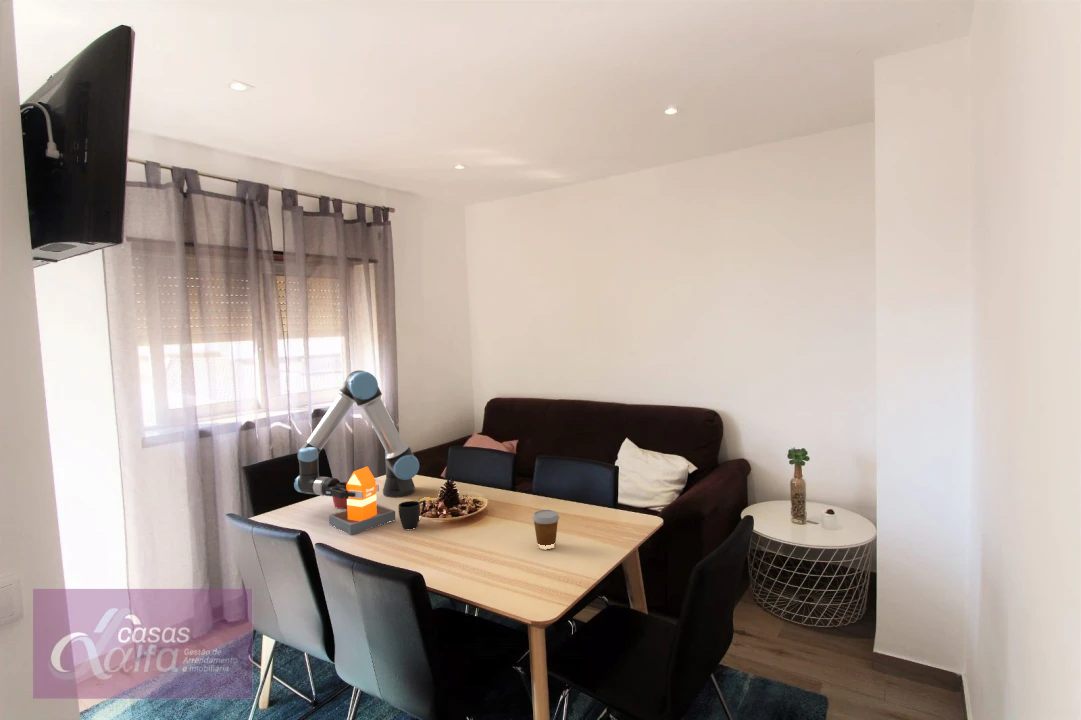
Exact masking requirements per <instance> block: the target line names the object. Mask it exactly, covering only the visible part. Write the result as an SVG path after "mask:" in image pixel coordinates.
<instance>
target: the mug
mask: <svg viewBox="0 0 1081 720" xmlns="http://www.w3.org/2000/svg"><path fill="white" fill-rule="evenodd" d="M421 504H422V507H421ZM426 505H427V504H426V501H425V500H421V501H416V500H407V501H403V502H401V503H399V504H398V516H399V521H400V524H401V527H402V529H403V528H404V529H413V528H415V529H417V528H418V524H419V523H420V521H421V519H420V520H419V516H420V512H421V511H424V512H425V508H426ZM416 527H417V528H416ZM404 529H403V530H404ZM413 530H414V529H413Z"/></svg>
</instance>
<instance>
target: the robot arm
mask: <svg viewBox="0 0 1081 720" xmlns="http://www.w3.org/2000/svg"><path fill="white" fill-rule="evenodd" d="M382 395H383V393H382V391H381V389H380V387H379V382H378V380H377V379H376V377H375V376H374V375H373V373H371V372H368V371H365V370H359V369H357V370H354V371H352V372H350V374H348V375H347V377H346V378H345V380H344V382H343V384H342V385H341V387H340V388H339V390H338V395H337V397H336V398H335V400H334V401H333V402H332V403H331V406H330V407H329V408H328V410H327V411H326V413H325V414H324V415H323V417H322V418H321V419H320V421H319V423H318V424H317V426H316V427H315V428H314V429H313V431H312V433H310V436H309V437H308V439H307V440H306V442H305V443H304V444H303V446H301V447H300V448H299V449H298V452H297V459H298V463H299V475H298V476H297V477H296V478H295V479H294V482H293V486H294V489H295V491H297V492H298V493H303V494H309V495H318V496H321V497H324V496H326V497H332V496H334V497H337V498H341V499H343V498H344V497H345V499H348V496H349V497H353V498H361V499H362V498H363V491H355V490H349V492H348V490H347V486H346V484H347V483H348V481H340V480H339V479H338V478H336V477H328V476H320V471H319V456H320V455H319V454H320V452H321V451H322V450H323V448H324V446H325V445H326V444H327V442H328V441H329V439H330V438H331V437H332V435H333V433H334V432H335V431H336V430H337V428H338V426H339V425H340V423H341V422H342V421H343V419H344V418H345V416H346V415H347V414H348V412H349V410H350V409H351V407H352V406H353V405H354V404H356V405H357V407H360V408H362V409H363V410H364V412H365V415H366V416H367V418H368V420H369V422H370V424H371V426H372V428H373V430H374V431H375V434H376V436H377V437H378V439H379V441H380V442H381V445H382V446H383V448H384V451H385V452H384V456H385V457H384V459H385V461H384V462H385V479H384V480H385V481H384V483H383V488H382V495H383V496H384V497H388V496H389V497H390V498H397V496H400V497H404V496H405V497H406V496H409V495H412V494H414V493H415V492H416V488H415V487H416V486H415V483H414V481H413V478H414V477H415V476H416V475H417V474H418V472H419V471H420V470H419V469H420V462H419V459H418V458H417V456H415V455H414V452H413V451H412V449H411V447H410V445H409V444H407V443H405V442H404V441H403V439H402V437H401V435H400V434H399V431H398V430H397V428H396V426H395V423H394V422H393V420H392V418H391V415H390V414H389V412H388V411H387V408H386V407H385V405H384V402H383V400H382V399H381V398H382ZM345 482H347V483H345ZM377 492H380V485H379V484H377V483H376V493H377ZM413 492H414V493H413Z"/></svg>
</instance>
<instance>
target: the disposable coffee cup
mask: <svg viewBox="0 0 1081 720" xmlns="http://www.w3.org/2000/svg"><path fill="white" fill-rule="evenodd" d="M559 519H560V516H559V513H558V512H557V511H556V510H552V509H540V510H536V511H534V513H533V516H532V520H533V523H534V529H535V537H536V543H538V544H540V545H545V546H546V545H551V544H554V543H555V542H557V533H558V525H559V523H558V521H559ZM555 544H556V543H555Z"/></svg>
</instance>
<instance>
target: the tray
mask: <svg viewBox="0 0 1081 720" xmlns="http://www.w3.org/2000/svg"><path fill="white" fill-rule="evenodd" d="M376 507H377V514H376V515H375V516H373V517H371V518H368V519H365V520H361V521H355V520H348V511H347V510H343V511H340V512H337V513H333V514H330V515H328V516H329V517H328V518H329V522H328V523H329V525H330V524H331V525H332V526H331V525H330V526H331V527H333V526H335V527H336V528H335V527H334V528H335V529H337V528H339V529H340V531H341V530H342V531H341V532H343V531H344V532H343V533H345V532H346V533H345V534H347V533H348V534H347V535H349V536H352V535H355V534H358V533H361V532H360V531H362V532H364V531H363V530H365V531H366V529H368V530H370V529H369V528H371V527H374V528H376V527H375V526H377V527H379V526H378V525H380V524H383V525H385V524H384V523H386V524H388V523H387V522H389V521H392V522H394V521H393V520H395V521H396V519H397V518H396V510H395V509H391V508H388V507H385V506H383V505H380V504H377V503H376ZM389 523H390V522H389ZM380 526H381V525H380ZM339 529H338V530H339ZM371 529H372V528H371ZM357 532H358V533H357Z"/></svg>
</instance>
